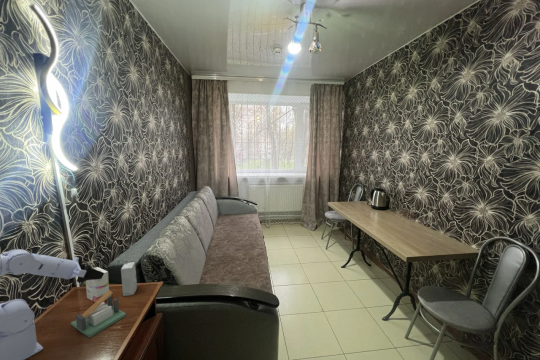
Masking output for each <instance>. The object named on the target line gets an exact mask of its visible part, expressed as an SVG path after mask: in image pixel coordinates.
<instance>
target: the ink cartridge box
mask: <svg viewBox="0 0 540 360" xmlns="http://www.w3.org/2000/svg"><path fill="white" fill-rule="evenodd" d="M84 266H86V264H85V265H84ZM91 267H92V266H91ZM92 268H94V269H96V270H98V271H101V272H103V273H104V275H103V277H102V279H96V280H87V281H85V287H86V288H85V289H86V298H87V299H88V300H90V301H92V302H94V303H95V302H96V301H98V300H99V299H100V298H101V297H102V296H103V295H104V294H105V293H106V292H107V291H110V283H109V271H108V270H105V269H103V268H100V267H98V266H96V267H92Z"/></svg>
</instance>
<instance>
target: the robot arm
mask: <svg viewBox="0 0 540 360" xmlns="http://www.w3.org/2000/svg"><path fill="white" fill-rule="evenodd" d="M79 259H80V258H79V257H78V256H77V257H76V256H75V257H73V259H72V260H71V259H67V258H66V259H65V258H60V257H57V256H56V257H55V256H51V255H47V254H38V253H30V252H29V251H28V250H25V249H22V248H21V249H20V248H14V249H13V248H12V249H11V250H8V251H3V252H2V253H1V254H0V276H3V275H6V274H7V273H11V274H12V275H16V276H17V275H22V274H31V275H36V276H43V277H44V276H45V277H50V278H51V277H52V278H59V279H64V280H70V279H73V278H76V282H77V283H84V282H86V281H87V280H96V279H102V277H103V275H104V273H103V272H101V271H98V270H96V269H94V268H95V267H93V268H92V266H91V265H90V264H87V263H86V264H85V265H86V266H85V265H84V264H82V263H81V262H80V261H79ZM35 315H36V314H35V312H34V311H33V310H31V308H30V306H29V305H28V303H27V301H26V300H24V299H22V298H16V299H12V300H9V301H6V302H3V303H1V302H0V360H27V359H29V358H30V357H32V356H33V355H36V354H38V353H39V352H41V351H42V350H43V349H44V347H43V346H42V345H41V344H40V343H39V342H38V339H37V333H36V324H35Z"/></svg>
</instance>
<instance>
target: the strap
mask: <svg viewBox="0 0 540 360" xmlns="http://www.w3.org/2000/svg"><path fill="white" fill-rule="evenodd" d="M112 294H113V291H111V290H109V291H107V292H106V293H105V294H104V295H103V296H102V297H101V298H100V299H99V300H98V301H96V302H94V303H93V304H92V305H91V306H90V307H89V308H87V309H86V310H85V311H84V312H83V313H82V314H81V315H82V316H83V317H85V318H87V317H88V316H89V315H90V314H91V313H92V312H93V311H94V310H95V309H96V308H97V307H99V306H100V305H101V304H102V303H103V302H105V301H107V298H108V297H109V296H110V295H111V296H112Z"/></svg>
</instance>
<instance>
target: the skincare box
mask: <svg viewBox="0 0 540 360" xmlns="http://www.w3.org/2000/svg"><path fill="white" fill-rule="evenodd" d="M120 274H121V286H122V297H125V296H127V297H128V296H133V295H135V293H136V291H137V288H138V283H137V282H138V281H137V271H136V262H135V261H133V262H126V263H124V264H122V267H121V269H120Z"/></svg>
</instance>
